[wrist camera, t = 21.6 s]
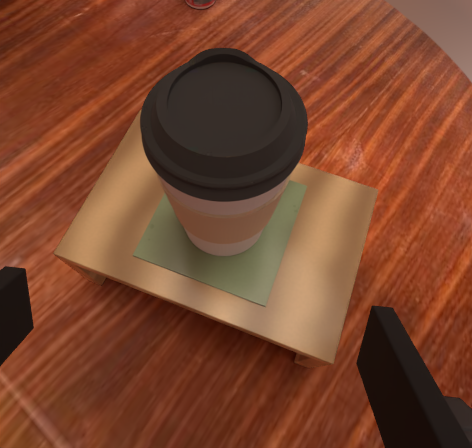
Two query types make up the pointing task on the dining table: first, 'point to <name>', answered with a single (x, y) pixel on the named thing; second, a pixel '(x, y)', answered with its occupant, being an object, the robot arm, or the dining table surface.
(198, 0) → the pill bottle
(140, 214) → the shelf
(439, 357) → the dining table surface
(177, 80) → the coffee cup
